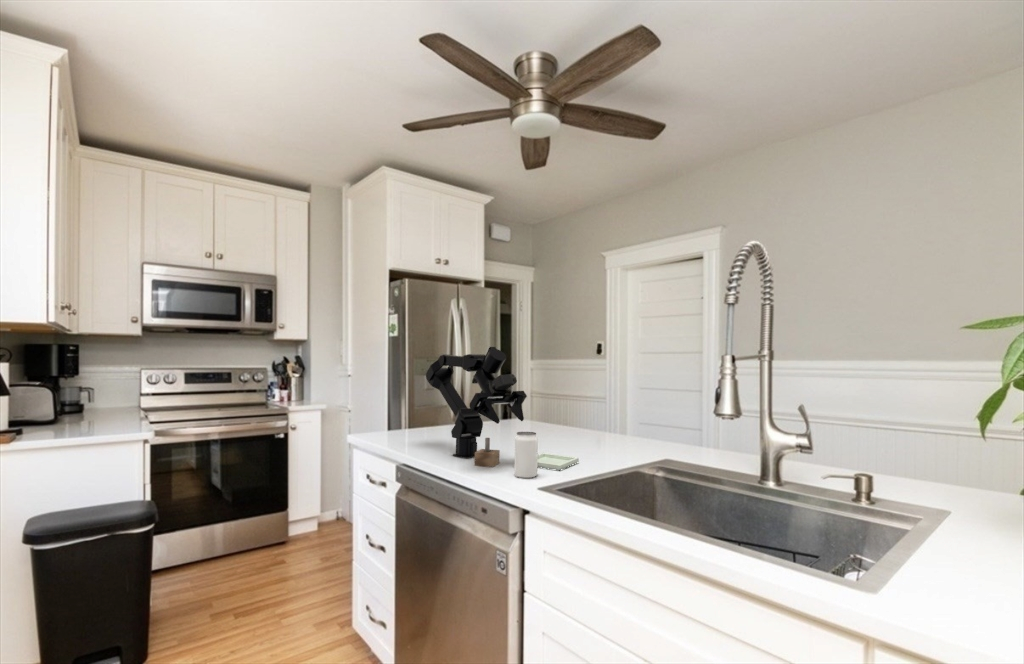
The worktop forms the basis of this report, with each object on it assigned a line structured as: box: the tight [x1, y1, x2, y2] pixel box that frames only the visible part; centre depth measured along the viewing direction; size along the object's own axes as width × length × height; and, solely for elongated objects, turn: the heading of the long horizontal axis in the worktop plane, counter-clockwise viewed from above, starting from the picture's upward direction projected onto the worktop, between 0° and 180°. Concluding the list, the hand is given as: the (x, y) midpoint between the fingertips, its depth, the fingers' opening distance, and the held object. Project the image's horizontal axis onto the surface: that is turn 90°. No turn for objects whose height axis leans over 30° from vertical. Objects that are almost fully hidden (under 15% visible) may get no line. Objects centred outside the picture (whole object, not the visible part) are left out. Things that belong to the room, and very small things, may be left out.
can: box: [514, 431, 539, 479], centre depth 138 cm, size 6×6×12 cm
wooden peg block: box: [474, 437, 501, 468], centre depth 152 cm, size 6×6×8 cm
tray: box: [537, 452, 580, 471], centre depth 153 cm, size 13×13×2 cm
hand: (511, 421), depth 145 cm, fingers open, 9 cm apart
